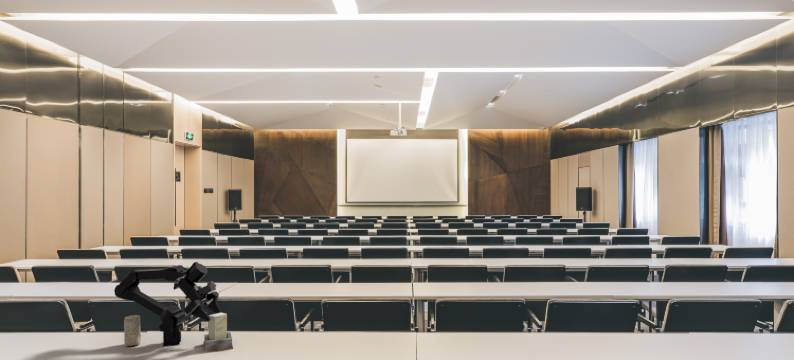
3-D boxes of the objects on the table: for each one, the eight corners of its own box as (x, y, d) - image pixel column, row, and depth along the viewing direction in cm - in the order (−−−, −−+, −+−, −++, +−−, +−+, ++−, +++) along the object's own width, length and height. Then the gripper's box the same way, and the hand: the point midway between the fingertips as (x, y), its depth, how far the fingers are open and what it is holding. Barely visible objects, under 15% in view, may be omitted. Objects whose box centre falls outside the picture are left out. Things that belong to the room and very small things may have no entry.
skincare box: (214, 346, 211) (214, 317, 211) (207, 344, 213) (207, 315, 213) (227, 342, 216) (227, 313, 216) (220, 340, 218) (220, 312, 218)
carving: (139, 341, 221) (139, 313, 221) (142, 346, 214) (142, 317, 214) (123, 343, 217) (123, 315, 217) (125, 348, 211) (124, 319, 211)
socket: (204, 352, 207) (204, 342, 207) (203, 343, 217) (203, 334, 217) (232, 348, 211) (232, 338, 211) (230, 340, 221) (230, 331, 221)
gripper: (191, 281, 206) (216, 309, 204) (214, 272, 224) (238, 298, 223) (172, 300, 207) (198, 328, 206) (198, 289, 226) (221, 316, 224)
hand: (215, 317), depth 214 cm, fingers open, 9 cm apart
